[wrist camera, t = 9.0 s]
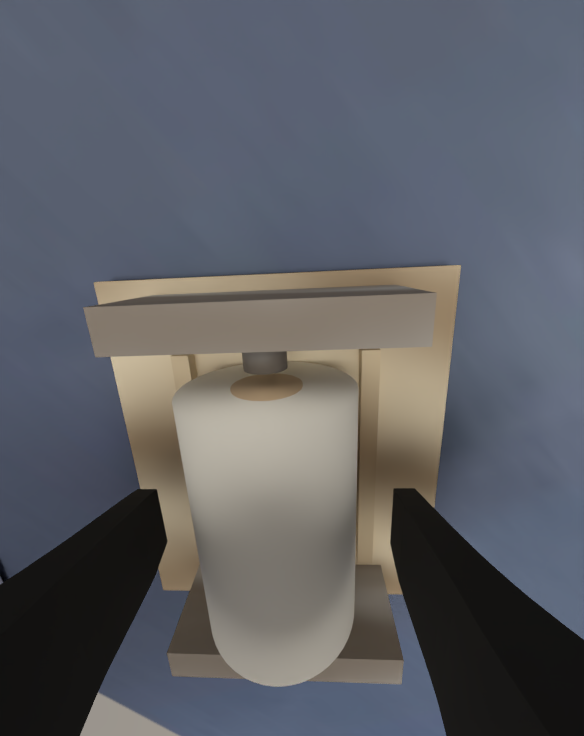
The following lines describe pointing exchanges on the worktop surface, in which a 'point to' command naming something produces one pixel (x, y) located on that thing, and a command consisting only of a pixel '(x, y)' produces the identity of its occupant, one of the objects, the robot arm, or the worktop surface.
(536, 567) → the worktop surface
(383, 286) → the roll holder
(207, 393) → the paper roll
